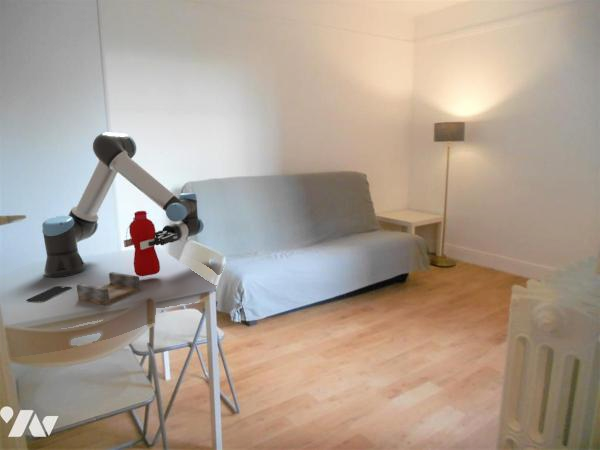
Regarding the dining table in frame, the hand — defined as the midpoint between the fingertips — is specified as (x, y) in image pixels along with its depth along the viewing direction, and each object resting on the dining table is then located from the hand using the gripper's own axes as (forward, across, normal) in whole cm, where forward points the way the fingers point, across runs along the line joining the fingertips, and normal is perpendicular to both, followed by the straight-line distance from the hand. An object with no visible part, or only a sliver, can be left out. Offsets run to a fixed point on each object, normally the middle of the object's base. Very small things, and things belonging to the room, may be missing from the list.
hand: (132, 244), depth 156 cm
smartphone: (+20, +22, -17) cm, 34 cm away
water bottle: (-5, 0, -13) cm, 14 cm away
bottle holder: (+12, 0, -16) cm, 20 cm away
